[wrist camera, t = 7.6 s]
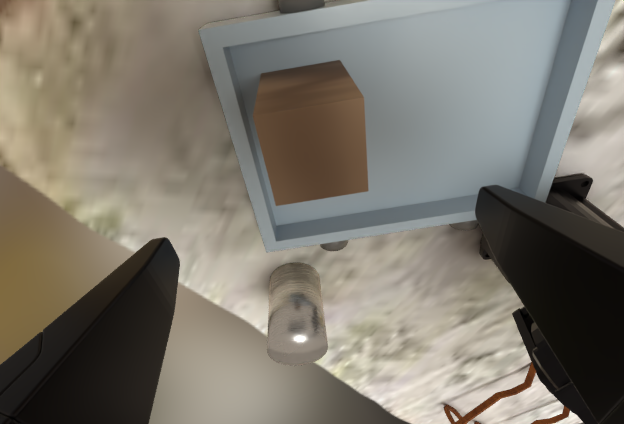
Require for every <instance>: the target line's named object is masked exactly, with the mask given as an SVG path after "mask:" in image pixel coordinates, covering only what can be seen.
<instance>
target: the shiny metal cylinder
mask: <svg viewBox="0 0 624 424" xmlns="http://www.w3.org/2000/svg"><path fill="white" fill-rule="evenodd" d="M327 349H328V344H327V335H326V327H325V319H324V311H323V303H322V295H321V286H320V278H319V274H318V272H317V271H316V270H315V269H314V268H313V267H311V266H309V265H307V264H303V263H289V264H285V265H282V266H280V267H278V268H277V269H276V270H275V271H274V272H273V273H272V275H271V277H270V289H269V315H268V341H267V352H268V355H269V356H270V358H272V359H273V360H274V361H276V362H278V363H281V364H285V365H295V366H296V365H305V364H309V363H312V362H315V361H317V360H319V359H320V358H322V357H323V356H324V355H325V353H326V352H327Z"/></svg>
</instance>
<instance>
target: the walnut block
mask: <svg viewBox="0 0 624 424" xmlns="http://www.w3.org/2000/svg"><path fill="white" fill-rule="evenodd" d="M253 119H254V123H255V127H256V131H257V135H258V139H259V142H260V146H261V150H262V154H263V158H264V162H265V166H266V170H267V173H268V177H269V181H270V185H271V189H272V193H273V197H274V201H275V204H276V206H280V205H287V204H293V203H299V202H305V201H311V200H318V199H324V198H330V197H336V196H342V195H349V194H355V193H361V192H367V191H369V188H368V168H367V148H366V127H365V107H364V97H363V95H362V93H361V92H360V90H359V89H358V87H357V86H356V84H355V83H354V81H353V79H352V78H351V76H350V75H349V73H348V72H347V70H346V68H345V67H344V65H343V64H342V62H341V61H340V60H336V61H330V62H325V63H319V64H313V65H307V66H301V67H295V68H290V69H284V70H278V71H272V72H266V73H261V76H260V81H259V87H258V92H257V97H256V102H255V107H254V112H253Z"/></svg>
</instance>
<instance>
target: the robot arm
mask: <svg viewBox="0 0 624 424" xmlns="http://www.w3.org/2000/svg"><path fill="white" fill-rule="evenodd" d="M592 182H593V179H592V178H590V177H589V176H587V175H577V176H571V177H565V178H558V179H553V182H552V185H551V188H550V191H549V194H548V197H547V199H546V202H545V203H544V202H542V201H539V200H536V199H534V198H531V197H529V196H526V195H523V194H521V193H518V192H515V191H513V190H510V189H507V188H505V187H502V186H499V185H488V186H483V187H481V188H480V189H479V192H478V197H477V202H476V207H475V216H476V219H477V221H478V223H479V225H480V227H481V229H482V232H483V235H482V240H481V249H480V255H481V257H482V258H483V259H492V260H493V262H494V263H495V265H496V266H497V267H498V269H499V270H500V271H501V273H502V274H503V276H504V277H505V278H506V280H507V281H508V282H509V283H510V284H511V285H512V287H513V288H514V290H515V292H516V293H517V295H518V296H519V298H520V300H521V301H522V303H523V304H524V307H523V308H521V309H520V308H519V309H517V310H516V311H515V312H513V313H512V315H513V317H514V319H515V322H516V324H517V327H518V330H519V332H520V335H521V337H522V339H523V342H524V344H525V346H526V349H527V351H528V354H529V356H530V358H531V361H532V363H533V366H534V368H535V370H536V373H537V375H538V378H539V379H540V381H541V382H542V383H543V384H544V385H545V386H546V388H547V389H548V390H549V391H550V392H551V393H552V394H553V395H554V396H555V397H556V398H557V399H558V400H559V401H560V402H561V403H562V404H563V405H564V406H565V407H567V408H568V409H569V410H570V411H572V412H573V413H575V414H576V415H577V416H578V417H579V418H580V419H581V420H582V421H583V422H584V423H585V424H624V228H623V227H622V226H621V225H619V224H618V223H617V222H615V221H614V220H613V219H611V218H610V217H609V216H607V215H606V214H605V213H604V212H602V211H601V210H600V209H598V208H597V207H596V206H594V205H593V204H592V203H590V202H589V201H588V200H586V197H587V194H588V192H589V190H590V187H591V185H592ZM179 267H180V261H179V258H178V255H177V254H176V252H175V250H174V248H173V246H172V244H171V242H170V241H169V239H168V238H165V237H163V238H157V239H152V240H150V241H149V242H148V243H147V244H146V245H144V246H143V247H142V248H141V249H140V250H138V251H137V252H136V253H135V254H134V255H133V256H131V257H130V258H129V259H128V260H126V261H125V262H124V263H123V264H122V265H120V266H119V267H118V268H117V269H116V270H114V271H113V272H112V273H111V274H110V275H108V276H107V277H106V278H105V279H104V280H102V281H101V282H100V283H99V284H98V285H96V286H95V287H94V288H93V289H92V290H90V291H89V292H88V293H87V294H86V295H84V296H83V297H82V298H81V299H80V300H78V301H77V302H76V303H75V304H73V305H72V306H71V307H70V308H69V309H67V311H65V312H64V313H63V314H62V315H60V316H59V317H58V318H57V319H55V320H54V321H53V322H52V323H51V324H49V325H48V326H47V327H46V328H45V329H44V330H43V332H40V333H39V334H37V335H36V336H35V337H34V338H33V339H31V340H30V341H29V342H28V343H27V344H25V345H24V346H23V347H22V348H20V349H19V350H18V351H17V352H16V353H15V354H13V355H12V356H11V357H9V358H8V359H7V360H6V361H4V362H3V363H2V364H1V365H0V424H148V423H149V419H150V415H151V411H152V406H153V401H154V398H155V393H156V389H157V385H158V381H159V376H160V372H161V368H162V363H163V359H164V355H165V350H166V346H167V342H168V338H169V333H170V329H171V325H172V320H173V315H174V310H175V303H176V294H177V285H178V276H179Z"/></svg>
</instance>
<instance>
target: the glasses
mask: <svg viewBox="0 0 624 424" xmlns="http://www.w3.org/2000/svg"><path fill="white" fill-rule="evenodd" d="M535 373H536V370H535V368H534V366H533V363H532V362H531V365H530V368H529V371H528V373H527V376H526V379H525V382H524V383H523V384H521V385H519V386H516V387H514V388H512V389H510V390H506V391H502V392H498V393H495V394H494V395H493V396H491V397H490V398H489V399H487V400H486V401H484V402H483V403H482V404H480V405H479V406H477V407H476V408H475V409H473V410H472V411H470V412H469V413H468V414H466V415H465V416H464V417H462V416H461V415H460V414H459V413H458V412H457V411H456V410H455V409H454V408H453V407H451V406H449V405H445V406H444V410H445V413H446V415H447V417H448V419H449V421H450V422H451V424H466V423H468V422H469V421H470V420H472V419H473V418H475V417H476V416H477V415H479V414H480V413H482V412H483V411H484V410H486V409H487V408H489V407H490V406H491V405H493V404H494V403H496V402H497V401H498V400H500V399H501V398H505V397H509V396H512V395H516V394H518V393H520V392H522V391H523V390H525V389H527V388H529V387H531V384H532V382H533V379H534V376H535ZM449 410H450V411H451V412H453V413H454V414H455V415H456V416H457V417H458V419H459V420H458V421H457V422H455V421H454V419H453V418H452V416H451V414H450V411H449ZM569 412H570V410H569V409H568V408H567V407H565V406H564V409H563V413H562V414H560V415H557V416H555V417H552V418H549V419H542V420H536V421H534V422H533V423H531V424H552V423H556V422H558V421H560V420H562V419H564V418H567V417H568V416H569ZM474 424H481V423H479V422H477V421H476V422H475V423H474Z"/></svg>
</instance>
